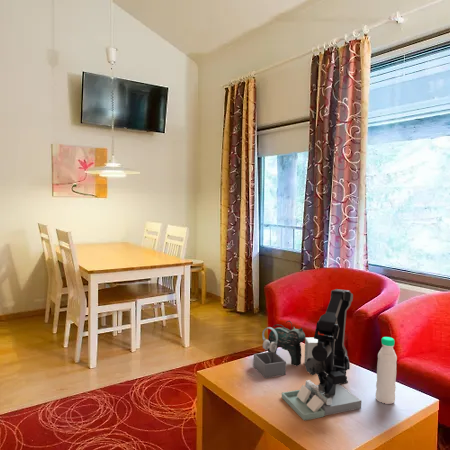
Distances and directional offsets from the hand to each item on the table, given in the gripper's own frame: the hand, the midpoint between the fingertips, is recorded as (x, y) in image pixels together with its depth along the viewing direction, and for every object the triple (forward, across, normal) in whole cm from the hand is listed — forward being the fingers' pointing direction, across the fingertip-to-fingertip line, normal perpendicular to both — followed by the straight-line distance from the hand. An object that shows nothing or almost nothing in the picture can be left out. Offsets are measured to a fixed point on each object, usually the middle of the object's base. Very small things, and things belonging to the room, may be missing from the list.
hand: (325, 391), depth 156 cm
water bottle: (+5, +6, +24) cm, 25 cm away
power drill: (+5, -40, +4) cm, 41 cm away
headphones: (+5, -32, -8) cm, 33 cm away
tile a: (+2, -4, -6) cm, 8 cm away
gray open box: (+4, -32, -8) cm, 33 cm away
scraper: (+1, 0, 0) cm, 1 cm away
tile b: (+3, +4, -6) cm, 8 cm away
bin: (+5, 0, -10) cm, 11 cm away
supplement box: (+5, -30, +14) cm, 33 cm away
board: (+5, 0, +3) cm, 5 cm away
